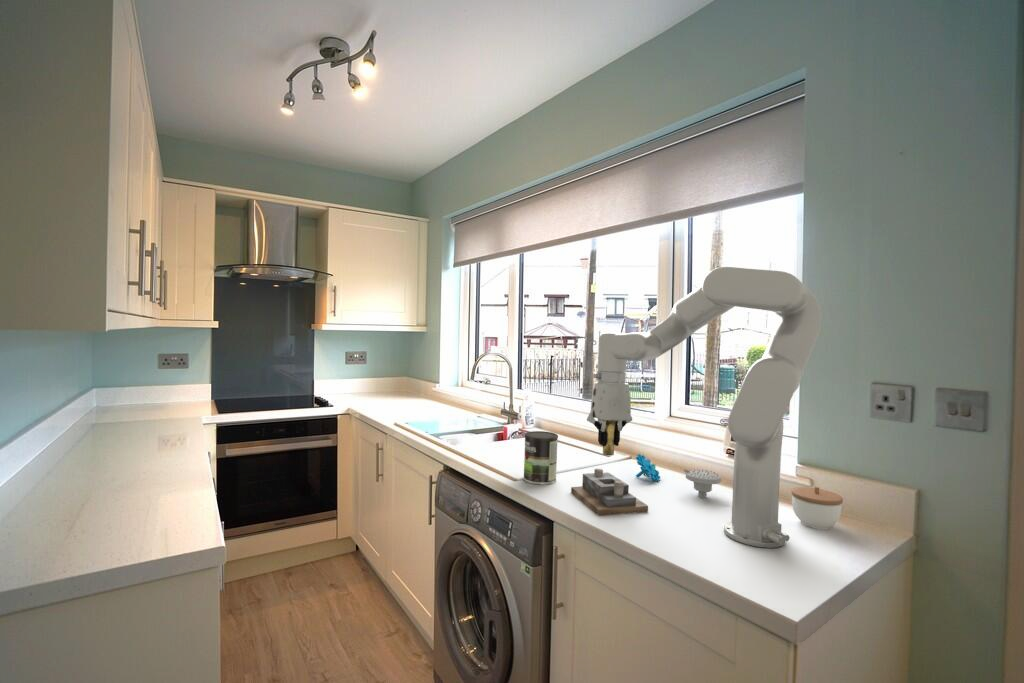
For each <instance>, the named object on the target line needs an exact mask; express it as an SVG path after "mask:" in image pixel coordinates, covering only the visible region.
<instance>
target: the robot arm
mask: <svg viewBox="0 0 1024 683" xmlns="http://www.w3.org/2000/svg"><path fill="white" fill-rule="evenodd" d="M734 307H737V308H738V307H739V308H745V309H751V310H753V309H754V310H762V311H768V312H773V313H775V314H776V315H777V320H776V321H777V322H776V324H775V327H774V329H773V331H772V333H771V336H770V338H769V341H768V343H767V346H766V348H765V351H764V353H763V355H762V356H761V358H759V359H757V360H756V361H755V362H754V363H753V364H752V365H751V366H750V367H749V369H748V370H747V372H746V374H745V377H744V379H743V381H742V384H741V386H740V388H739V391H738V393H737V396H736V398H735V401H734V403H733V405H732V408H731V410H730V413H729V416H728V419H727V427H728V428H727V429H728V431H729V434H730V436H731V437H732V439H733V440H734V441H735V444H734V455H733V456H734V457H733V473H732V474H733V476H732V478H733V479H732V481H733V482H732V504H731V505H732V506H731V508H732V509H731V521H729V522H727V523H725V524H724V527H723V532H724V534H725V535H727V537H729V539H730V538H731V540H734V541H736V542H738V543H741V544H744V545H748V546H751V547H757V548H766V549H767V548H770V549H772V548H778V547H783V546H784V545H785V544H786V542H788V541H789V540H790V535H789V534H787V533H785V532H782V525H783V524H782V523H780V522H779V506H780V505H779V504H780V481H781V480H780V479H781V478H780V476H781V462H782V445H783V438H784V437H783V435H784V416H785V414H786V412H787V409H788V407H789V405H790V402H791V400H792V399H793V396H794V393H795V392H796V391H797V390H798V389H799V386H800V385H801V380H802V376H803V373H804V372H805V369H806V366H807V364H808V362H809V359H810V357H811V354H812V351H813V349H814V348H815V347H814V346H815V344H816V342H817V339H818V338H819V333H820V331H821V327H822V317H823V316H822V310H821V306H820V303H819V301H818V299H817V298H816V296H815V295H814V293H813V292H812V291H811V290H810V289H809V287H807V286H806V285H805V284H804V283H803V282H802V281H801V280H800V279H799V278H797V277H796V276H795V275H794V274H792V273H790V272H785V271H781V270H771V269H770V270H769V269H757V268H745V267H743V268H742V267H737V266H736V267H734V266H719V267H716V268H714V269H712V270H710V271H709V272H708V273H707V274H706V275H705V277H704V278H703V281H702V284H701V285H700V286H698V287H697V288H696V289H694V290H692V291H691V292H690V293H688V294H687V295H685V296H684V297H682V298H680V299H679V300H678V301H677V302H675V303H674V305H673V307H672V309H671V312H670V314H669V315H668V317H666V318H665V319H664V320H663V321H661V322H660V323H659V324H656V326H654V327H652V328H651V329H650V330H648V331H647V332H646V331H645V332H637V331H635V332H628V333H623V332H610V331H606V332H601V333H600V335H599V337H598V351H597V352H598V356H597V359H598V360H597V371H596V372H595V373H593V374H592V378H593V379H596V382H595V383H594V386H593V390H592V393H591V394H592V395H591V403H590V413H589V414H588V416H587V418H586V421H587V422H589V423H590V424H592V425H594V427H596V428H595V429H597V430H598V433H597V434H598V436H597V441H598V445H600V446H602V447H603V446H606V443H607V432H606V431H605V427H606V421H615V440H614V447H618V446H619V445H620V444H619V442H620V440H621V432H622V431H623V428H624V427H625V426H626V425H627V424H629V423H631V422H632V421H633V417H632V413H631V412H632V407H631V406H632V404H631V403H632V402H631V392H630V386H629V383H628V382H627V383H626V376H627V375H626V374H627V361H631V362H645V361H652V360H655V359H657V358H659V357H661V356H662V355H664V354H666V353H667V352H670V351H671V350H672V349H674V348H675V347H677V346H678V345H680V344H682V342H684V341H685V340H687V338H689V337H690V336H692V335H693V334H694V333H696V331H698V330H700V329H701V328H703V327H704V326H706V325H707V324H709V323H710V322H712V321H714V320H716V319H717V318H719V317H720V316H722V315H724V314H725V313H727V312H729V311H730V310H731V309H733V308H734Z"/></svg>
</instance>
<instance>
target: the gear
mask: <svg viewBox="0 0 1024 683" xmlns="http://www.w3.org/2000/svg"><path fill="white" fill-rule="evenodd" d="M646 458H647V457H646V456H645V455H644V454H641V453H638V454H637V455H636V457H635V459H636V460H637V461H636V464H637V465H638V466H640V471H639V472H638V473H636V475H635V477H636V478H637V477H638V478H640V477H641V476H642V475H644V476H646V477H647V478H649V477H650V476H651V477H650V480H652V481H653V482H657V481H658V482H660V479H661V477H662V476H660V475H659V474H660V471H658V470H657V468H656V464H655V463H654V462H653V463H651V460H650V458H647V459H646ZM645 474H646V475H645Z"/></svg>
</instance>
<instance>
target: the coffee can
mask: <svg viewBox="0 0 1024 683" xmlns="http://www.w3.org/2000/svg"><path fill="white" fill-rule="evenodd" d="M558 438H559V435H558V434H557V433H555V432H549V431H540V430H533V431H528V432H526V433H524V457H523V458H524V460H523V463H524V464H523V478H524V479H523V481H524V480H525V481H524V482H526V483H527V484H533V485H542V486H543V485H546V486H547V485H551V484H555V483H556V482H557V462H558V440H559V439H558Z"/></svg>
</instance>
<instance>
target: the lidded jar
mask: <svg viewBox="0 0 1024 683" xmlns="http://www.w3.org/2000/svg"><path fill="white" fill-rule="evenodd" d="M843 500H844V499H843V496H841V495H840V494H838V493H836V492H833V491H829V490H827V489H824V488H820V487H819V486H814V487H810V486H798V487H793V488H792V489H791V503H792V505H791V506H792V510H793V513H794V514H795V516H796V518H798V521H799V520H800V523H801V524H802V525H804V526H806V527H807V528H812V529H815V530H822V529H825V530H830V529H831V527H833V526H834V525H835V524H836V523H838V521H839V520H840V518H841V513H842V508H843V505H842V504H843V502H844V501H843ZM829 528H830V529H829Z"/></svg>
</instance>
